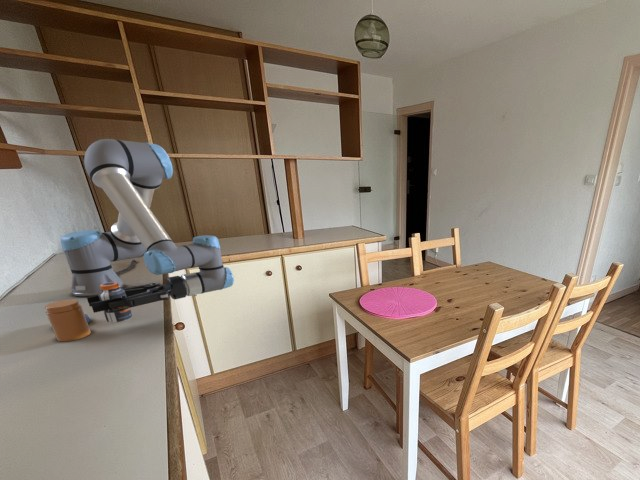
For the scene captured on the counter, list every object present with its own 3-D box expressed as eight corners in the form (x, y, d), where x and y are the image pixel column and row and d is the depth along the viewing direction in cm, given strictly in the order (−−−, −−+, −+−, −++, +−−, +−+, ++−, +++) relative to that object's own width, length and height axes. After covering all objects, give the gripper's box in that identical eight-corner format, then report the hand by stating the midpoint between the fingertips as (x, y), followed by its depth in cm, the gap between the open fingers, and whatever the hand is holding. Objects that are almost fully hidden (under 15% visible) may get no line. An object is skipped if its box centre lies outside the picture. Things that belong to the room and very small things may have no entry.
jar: (62, 333, 92) (49, 301, 88) (94, 328, 95) (83, 297, 91) (52, 343, 86) (38, 310, 82) (86, 338, 89) (74, 305, 86)
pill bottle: (118, 324, 91) (105, 287, 87) (101, 322, 92) (88, 285, 88) (137, 316, 97) (127, 281, 93) (122, 314, 98) (111, 279, 94)
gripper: (196, 303, 101) (100, 326, 84) (176, 290, 112) (88, 308, 95) (191, 281, 98) (91, 300, 81) (171, 270, 109) (80, 285, 93)
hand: (90, 304), depth 88 cm, fingers closed on pill bottle, 6 cm apart
